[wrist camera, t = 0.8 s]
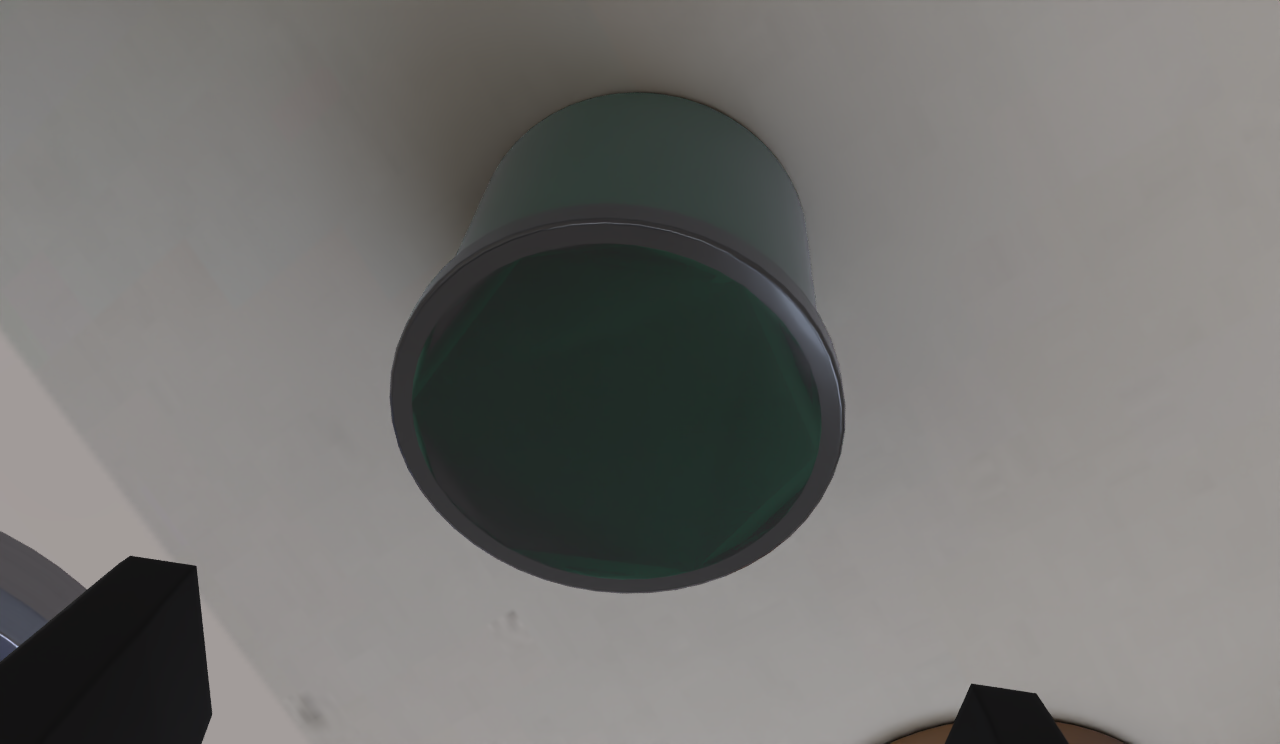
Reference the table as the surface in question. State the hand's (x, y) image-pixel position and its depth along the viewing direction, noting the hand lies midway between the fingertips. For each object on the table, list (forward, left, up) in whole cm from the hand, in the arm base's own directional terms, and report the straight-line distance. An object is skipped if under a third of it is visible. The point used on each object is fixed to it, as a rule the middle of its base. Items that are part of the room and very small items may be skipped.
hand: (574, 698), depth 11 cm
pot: (0, 0, -9) cm, 9 cm away
